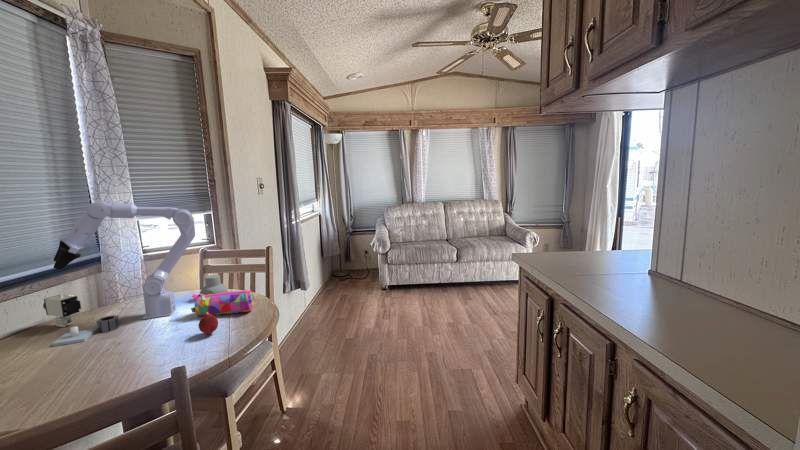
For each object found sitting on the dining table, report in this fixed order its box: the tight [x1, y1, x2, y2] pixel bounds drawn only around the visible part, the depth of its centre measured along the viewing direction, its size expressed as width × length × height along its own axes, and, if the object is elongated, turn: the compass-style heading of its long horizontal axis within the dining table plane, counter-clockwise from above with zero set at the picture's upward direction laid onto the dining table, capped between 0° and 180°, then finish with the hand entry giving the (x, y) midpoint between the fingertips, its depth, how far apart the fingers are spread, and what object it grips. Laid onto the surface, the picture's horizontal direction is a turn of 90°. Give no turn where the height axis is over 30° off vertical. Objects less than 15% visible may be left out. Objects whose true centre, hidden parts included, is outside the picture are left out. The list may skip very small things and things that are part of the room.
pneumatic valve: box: [42, 293, 82, 328], centre depth 121 cm, size 6×12×12 cm, turn 77°
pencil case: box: [190, 289, 255, 317], centre depth 130 cm, size 22×9×9 cm, turn 103°
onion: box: [198, 312, 219, 335], centre depth 111 cm, size 6×6×8 cm
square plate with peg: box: [52, 325, 97, 347], centre depth 110 cm, size 8×8×4 cm
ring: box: [96, 314, 120, 334], centre depth 117 cm, size 5×5×4 cm
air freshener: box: [199, 274, 228, 295], centre depth 148 cm, size 11×8×10 cm
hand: (57, 265), depth 113 cm, fingers open, 7 cm apart
